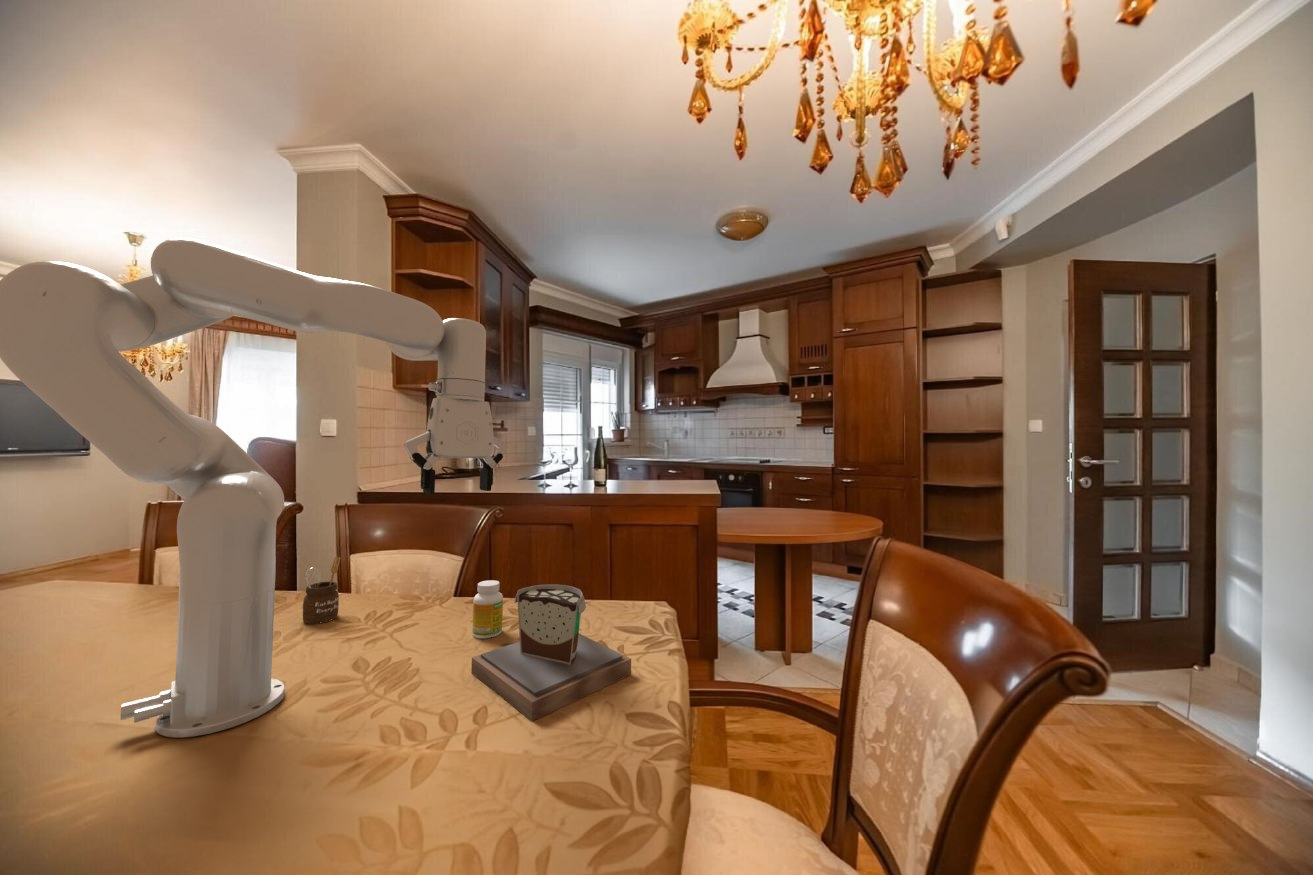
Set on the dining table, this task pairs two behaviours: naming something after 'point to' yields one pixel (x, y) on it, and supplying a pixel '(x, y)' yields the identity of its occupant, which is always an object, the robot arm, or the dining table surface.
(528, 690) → the podium
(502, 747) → the dining table surface
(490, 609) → the supplement bottle
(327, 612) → the utensil holder
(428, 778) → the dining table surface
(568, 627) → the food container
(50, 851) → the dining table surface
